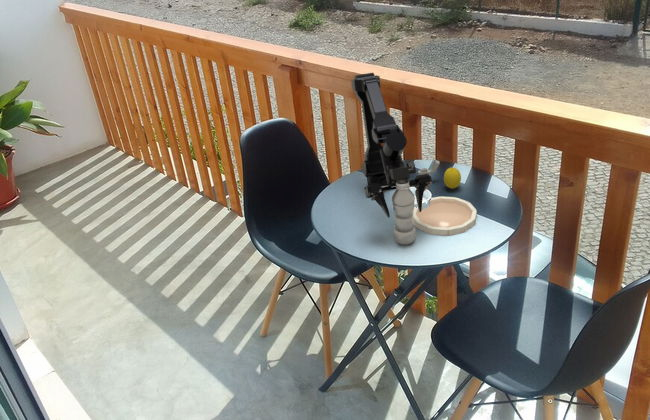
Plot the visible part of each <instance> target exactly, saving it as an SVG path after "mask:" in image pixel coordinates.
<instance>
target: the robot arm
mask: <svg viewBox="0 0 650 420" xmlns="http://www.w3.org/2000/svg"><path fill="white" fill-rule="evenodd" d="M353 77H354V78H352V79H351V83H350V84H351V88H352V91H354V95H355V97H356V98H357V99H358V101H360V104H361V110H362V116H363V117H362V118H363V123H364V130H365V131H364V132H365V137H366V145H367V148H366V150H365V152H364V155H363V156H364V160H363V161H362V165H361V167H362V168H361V169H362V172H363V175H364V176H365V178H366V182H367V185H366V186H365V187H364V192H365V198H366V199H370V200H371V201H375V202H376V203H377V205H379V207H380V208H381V209H382V211H383V212H384V214H385V215H386V216H387V218H388V219H389V218H390V217H391V215H390V211H389V207H388V205H387V201H386V199H385V192H390V191H396V190H397V189H396V181H397V180H399V179H407V180H409V185H410V188H412V187H414V188H415V191H414V194H415V201H416V205H418V209H419V212H421V211H422V201H423V200H424V198H423V197H424V193H425V191H427V189H428V188H430V186H431V185H432V183H433V179H432V176H430V175H429V174H423V175H416V176H415V178H414V179H410V178H411V175H412V174H416V173H417V170H416V164H415V162H414V161H411V162H406V166H405V162H404V161H403V157H402V154H403V152H404V150H405V148H406V146H407V142H408V141H407V137H406V136H405V132H404V131H403V130H402V129H401V128H400V126H399V125H398V124H397V123H396V122H397V121H396V120H395V117H393V116H392V115H390V114H389V113H388V111H387V107H386V103H385V100H384V97H383V94H382V91H381V87H382V86H381V78H380V75H375V74H374V72H368V73H361V74H355V75H354V76H353ZM382 144H383V145H382Z"/></svg>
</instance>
